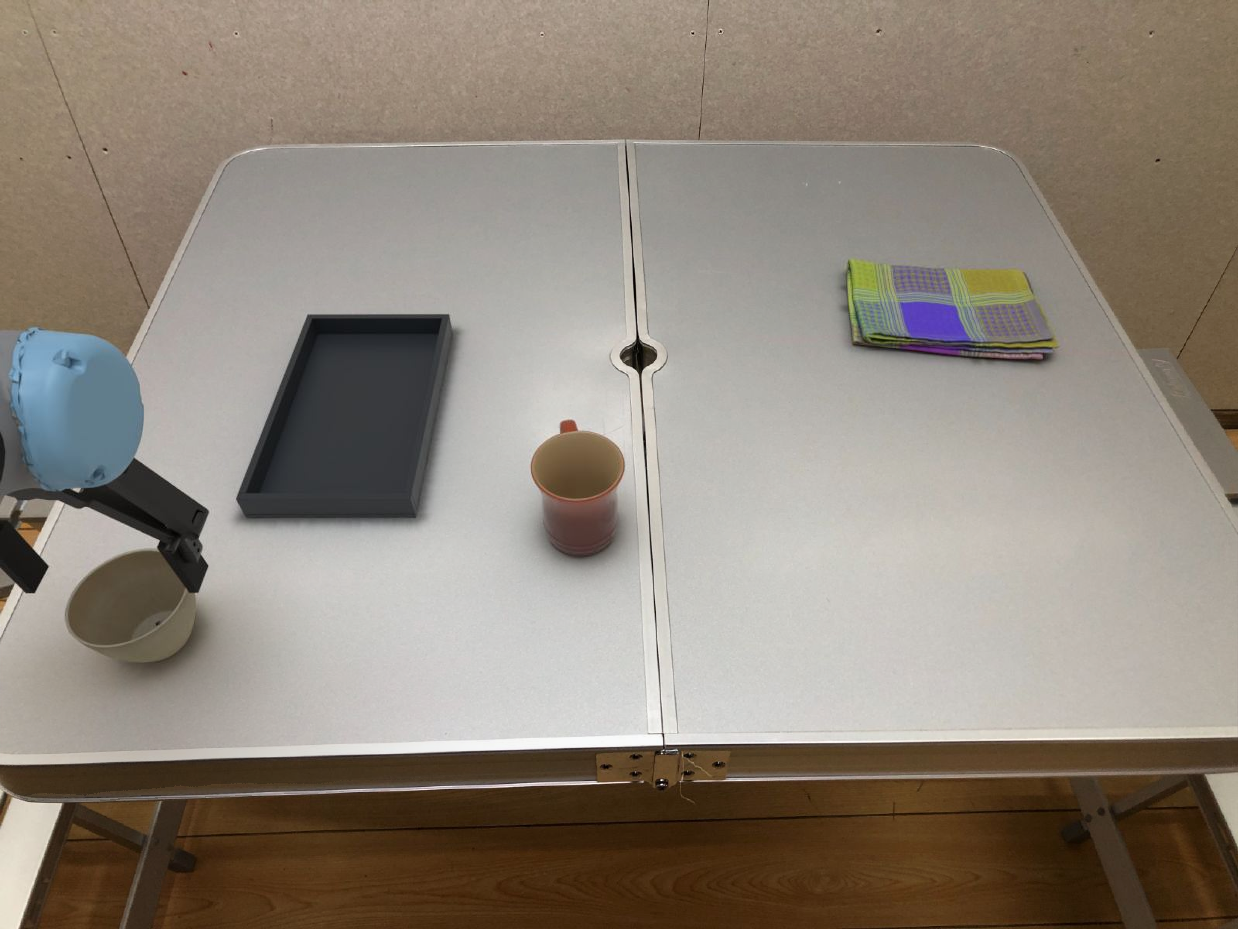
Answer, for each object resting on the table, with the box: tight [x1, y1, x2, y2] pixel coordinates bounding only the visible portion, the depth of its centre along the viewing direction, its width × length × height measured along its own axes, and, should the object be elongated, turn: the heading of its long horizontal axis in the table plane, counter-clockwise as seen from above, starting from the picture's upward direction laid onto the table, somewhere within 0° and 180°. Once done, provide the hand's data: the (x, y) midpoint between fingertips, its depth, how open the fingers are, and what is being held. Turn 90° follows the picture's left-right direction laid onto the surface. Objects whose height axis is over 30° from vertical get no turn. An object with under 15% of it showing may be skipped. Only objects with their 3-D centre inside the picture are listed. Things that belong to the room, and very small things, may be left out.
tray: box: [235, 313, 454, 519], centre depth 95 cm, size 30×18×3 cm, turn 0°
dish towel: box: [846, 258, 1060, 360], centre depth 108 cm, size 18×24×3 cm
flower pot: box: [64, 547, 197, 663], centre depth 74 cm, size 10×10×7 cm
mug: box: [530, 419, 626, 557], centre depth 82 cm, size 12×9×10 cm
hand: (118, 579), depth 71 cm, fingers open, 13 cm apart
